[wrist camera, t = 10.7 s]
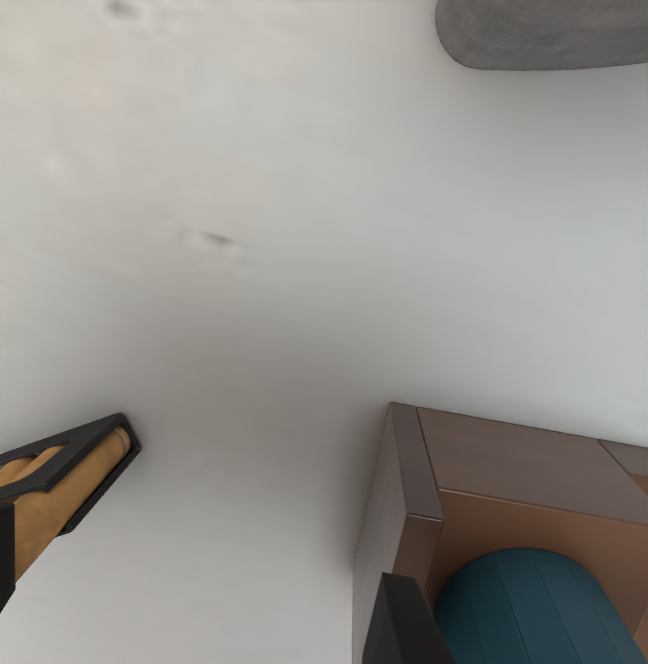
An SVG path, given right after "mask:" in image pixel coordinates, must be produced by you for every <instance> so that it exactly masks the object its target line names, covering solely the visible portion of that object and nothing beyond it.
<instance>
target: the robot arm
mask: <svg viewBox="0 0 648 664" xmlns="http://www.w3.org/2000/svg"><path fill="white" fill-rule="evenodd" d="M14 591H15V504H12V503H7V502H1V501H0V613H1V611H2V610H3V608H4V607H5V605H6V604H7V602H8V600H9V599H10V597H11V596H12V594H13V592H14ZM362 664H456V662H455V660H454V658H453V656H452V654H451V652H450V650H449V648H448V646H447V644H446V642H445V640H444V638H443V636H442V634H441V632H440V630H439V628H438V626H437V624H436V622H435V620H434V618H433V616H432V614H431V612H430V609H429V607H428V605H427V603H426V601H425V599H424V596H423V594H422V592H421V590H420V587H419V585H418V583H417V582H416V580H415V579H414V578H412V577H407V576H402V575H396V574H391V573H385V572H382V575H381V579H380V583H379V587H378V591H377V595H376V599H375V604H374V608H373V612H372V616H371V620H370V624H369V628H368V632H367V636H366V641H365V645H364V649H363V653H362Z"/></svg>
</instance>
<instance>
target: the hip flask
mask: <svg viewBox="0 0 648 664" xmlns="http://www.w3.org/2000/svg"><path fill="white" fill-rule="evenodd" d="M436 26H437V32H438V35H439V38H440V41H441V43H442V44H443V46H444V48H445V50H446V51H447V52H448V53H449V54H450V55H451V56H452V58H454V59H455V60H456V61H458V62H459V63H461V64H463V65H465V66H468V67H470V68H476V69H491V70H566V69H585V68H598V67H609V66H620V65H630V64H638V63H645V62H648V0H438V3H437V8H436Z"/></svg>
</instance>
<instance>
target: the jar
mask: <svg viewBox="0 0 648 664" xmlns="http://www.w3.org/2000/svg"><path fill="white" fill-rule="evenodd" d="M433 618H434V620H435V622H436V624H437V626H438V628H439V630H440V632H441V634H442V636H443V638H444V640H445V642H446V644H447V646H448V648H449V650H450V652H451V654H452V656H453V658H454V660H455V662H456V664H648V661H647V659H646V658H645V656H644V654H643V653H642V651H641V650H640V648H639V646H638V645H637V643H636V641H635V640H634V638H633V636H632V635H631V633H630V631H629V630H628V628H627V626H626V625H625V623H624V621H623V620H622V618H621V616H620V615H619V613H618V611H617V610H616V608H615V607H614V605H613V604H612V602H611V601H610V599H609V598H608V596H607V595H606V593H605V591H604V590H603V588H602V586H601V585H600V583H599V582H598V581H597V579H596V578H595V577H594V576H593V575H592V574H591V573H590V572H589V571H588V570H587V569H586V568H584V567H583V566H581V565H580V564H578V563H577V562H575V561H573V560H571V559H570V558H568V557H565V556H563V555H560V554H557V553H554V552H550V551H546V550H540V549H529V548H519V549H508V550H503V551H498V552H495V553H491V554H488V555H485V556H483V557H481V558H478V559H476V560H474V561H473V562H471V563H469V564H467V565H466V566H464V567H463V568H462V569H461V570H459V571H458V572H457V573H456V574H455V575H454V576H453V577H452V578H451V579H450V580H449V581H448V582H447V584H446V585H445V586H444V588H443V589H442V591H441V593H440V595H439V597H438V600H437V602H436V605H435V610H434V615H433Z"/></svg>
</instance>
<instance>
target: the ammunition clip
mask: <svg viewBox="0 0 648 664" xmlns="http://www.w3.org/2000/svg"><path fill="white" fill-rule="evenodd" d="M140 451H141V449H140V447H139V445H138V443H137V441H136V439H135V437H134V435H133V433H132V432H131V430H130V428H129V426H128V424H127V422H126V420H125V418H124V416H123V415H122V414H120V413H116V414H114V415H111V416H108V417H105V418H102V419H99V420H97V421H94V422H91V423H88V424H85V425H82V426H80V427H77V428H74V429H71V430H68V431H65V432H62V433H60V434H57V435H54V436H51V437H48V438H45V439H43V440H40V441H37V442H34V443H31V444H28V445H26V446H23V447H20V448H17V449H14V450H11V451H8V452H6V453H3V454H0V501H1V502H7V503H12V504H15V583H16V582H17V580H18V579H19V578H20V577H21V576H22V575H23V574H24V572H25V571H26V570H27V569H28V568H29V567H30V565H31V564H32V563H33V562H34V561H35V560H36V559H37V557H38V556H39V555H40V554H41V553H42V552H43V551H44V549H45V548H46V547H47V546H48V545H49V544H50V542H51V541H52V540H53V539H54V538H55V537H58V536H61V535H64V534H67V533H70V532H72V531H73V530H74V529H75V528H76V526H77V525H78V524H79V523H80V522H81V521H82V519H83V518H84V517H85V516H86V515H87V514H88V512H89V511H90V510H91V509H92V508H93V507H94V505H95V504H96V503H97V502H98V501H99V499H100V498H101V497H102V496H103V495H104V494H105V492H106V491H107V490H108V489H109V488H110V487H111V485H112V484H113V483H114V482H115V481H116V480H117V478H118V477H119V476H120V475H121V474H122V472H123V471H124V470H125V469H126V468H127V467H128V465H129V464H130V463H131V462H132V461H133V460H134V458H135V457H136V456H137V455H138V454H139V453H140Z"/></svg>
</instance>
